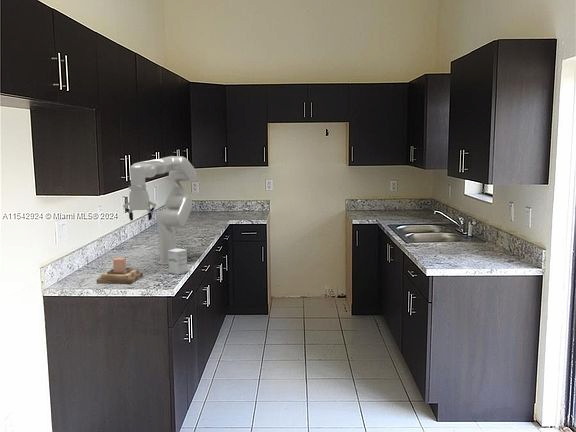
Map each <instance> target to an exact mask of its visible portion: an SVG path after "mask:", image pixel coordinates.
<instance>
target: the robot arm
mask: <svg viewBox="0 0 576 432" xmlns="http://www.w3.org/2000/svg"><path fill="white" fill-rule="evenodd" d="M166 173H168V177H169V181H170V191H169V192H168V194H167V197H166V200H165V203H164V207H165V208H166V209H161V210H159V211H158V212H157V214H156V223H157V226H158V235H159V236H158V238H159V239H158V241H159V260H158V261H157V264H158V265H161V266H169V262H168V250H172V249H176V248H177V235H176V230H175V228H174V227H183V226H184V225H186V223H187V221H188V218H189V216H190V214H191V211H192V208H193V200H192V198H191V196H190V195H188V194H187V195H185V194H186V189H185V187H184V185H183V182H194V181H195V180H196V178H197V171H196V169H195V167H194V166H193V164H192V163H191V162H190V161H189V159H187V157H184V156H182V155H181V156H177V155H176V156H175V155H170V156H165V157H162V158H157V159H151V160H145V161H144V160H143V161H140V162H139V161H138V162H134V163H133V164H132V165H131V166H130V167H129V176H130V185H129V186H128V189H129V190H130V191H129V194H128V196H129V198H128V202H126V203H125V204H123V206H122V207H123V208H124V210H125V212H127V213H128V218H129V221H130V222H131V221H134V213H133V211H147V212H148V213H147V216H148V221H151V220H152V219H153V213H152V212H153V211H154V210H155V209H156V207H157V204H156V203H154V202H152V201H150V196H149V191H148V190H147V186H146V178H153V177H155V176H156V175H162V174H166ZM151 206H152V207H151ZM150 207H151V208H150Z"/></svg>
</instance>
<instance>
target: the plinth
mask: <svg viewBox="0 0 576 432" xmlns="http://www.w3.org/2000/svg"><path fill="white" fill-rule="evenodd" d="M143 277H144V272H139V269H138V268H133V267H126V271H125V272H114V268H113V267H112V269H110V270H108V271H106V272H104V273H102V274H100V277H98V278H96V284H102V285H103V284H104V285H106V284H107V285H108V284H109V285H114V284H115V285H132V284H134V283H135V282H137V281H139V280H140V279H141V278H143Z"/></svg>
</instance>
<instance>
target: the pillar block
mask: <svg viewBox="0 0 576 432" xmlns="http://www.w3.org/2000/svg"><path fill="white" fill-rule="evenodd" d="M126 258H127V257H126V256H125V257H115V258H113V259H112V261H113V263H112V269H113V268H114V272H125V271H126V268H127V261H126V260H127V259H126Z"/></svg>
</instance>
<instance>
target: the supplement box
mask: <svg viewBox="0 0 576 432" xmlns="http://www.w3.org/2000/svg"><path fill="white" fill-rule="evenodd" d="M187 252H188V250H187V249H185V248H184V249H182V248H177V247H176V249H172V250H168V262H169V265H168V273H169V274H176V275H181V274H185V273H187V272H188V253H187Z"/></svg>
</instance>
